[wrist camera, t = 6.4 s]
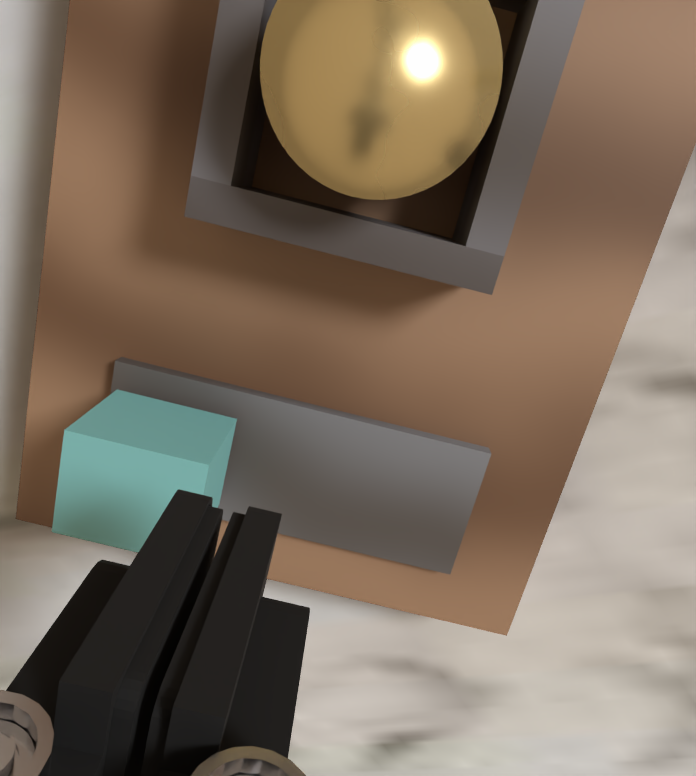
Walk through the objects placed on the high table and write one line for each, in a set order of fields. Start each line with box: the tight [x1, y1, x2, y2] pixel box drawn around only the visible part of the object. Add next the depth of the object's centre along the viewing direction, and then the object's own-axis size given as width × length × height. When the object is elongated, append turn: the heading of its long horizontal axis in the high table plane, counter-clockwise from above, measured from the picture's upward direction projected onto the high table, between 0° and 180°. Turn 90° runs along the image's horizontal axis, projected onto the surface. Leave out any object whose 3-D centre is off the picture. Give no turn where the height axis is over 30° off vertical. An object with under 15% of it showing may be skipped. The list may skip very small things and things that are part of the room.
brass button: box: [260, 0, 503, 200], centre depth 12 cm, size 4×4×2 cm
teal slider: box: [52, 390, 237, 552], centre depth 15 cm, size 2×3×3 cm
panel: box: [16, 0, 696, 635], centre depth 14 cm, size 25×14×5 cm, turn 166°
